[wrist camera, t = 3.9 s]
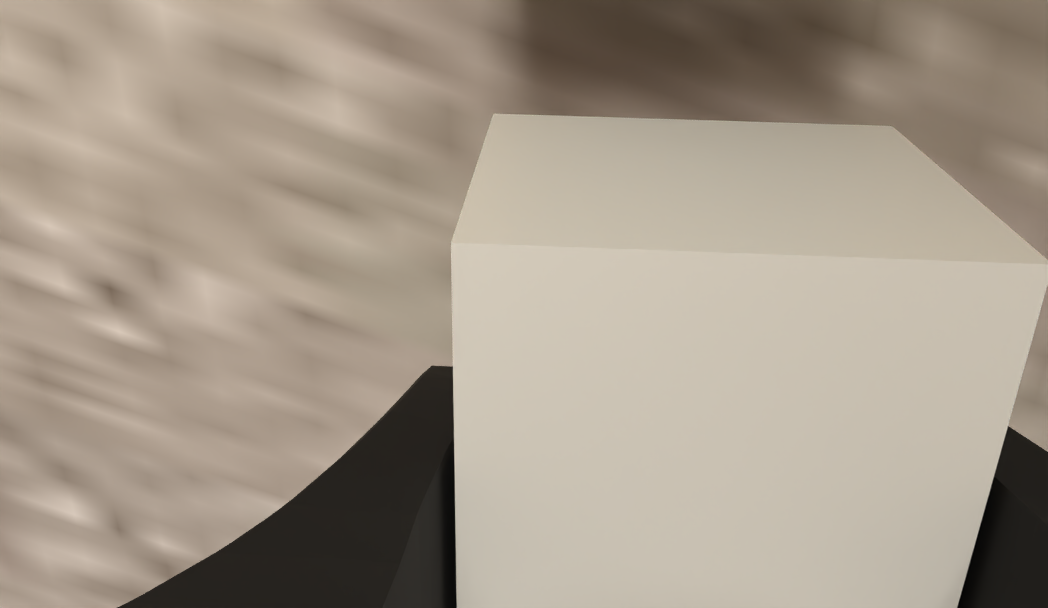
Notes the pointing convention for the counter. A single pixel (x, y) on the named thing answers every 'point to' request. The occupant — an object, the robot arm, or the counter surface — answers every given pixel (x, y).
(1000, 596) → the robot arm
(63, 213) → the counter surface
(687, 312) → the cream brick
